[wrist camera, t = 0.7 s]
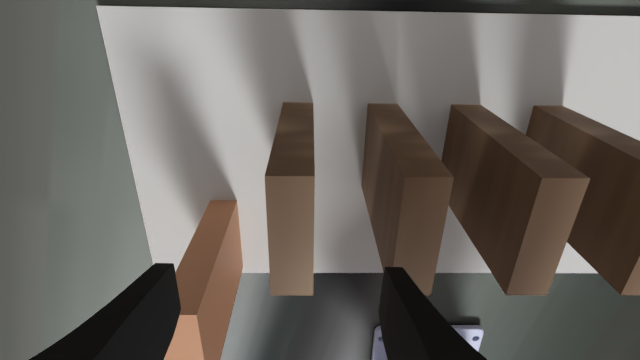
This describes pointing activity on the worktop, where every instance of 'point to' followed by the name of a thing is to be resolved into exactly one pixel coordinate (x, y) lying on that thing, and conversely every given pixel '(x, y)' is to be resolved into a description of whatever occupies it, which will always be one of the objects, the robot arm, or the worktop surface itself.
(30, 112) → the worktop surface
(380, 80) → the grey mat
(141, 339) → the robot arm
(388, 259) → the walnut domino
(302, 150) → the walnut domino
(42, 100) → the worktop surface
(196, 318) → the tan wooden flat block
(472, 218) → the walnut domino
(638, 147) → the walnut domino
